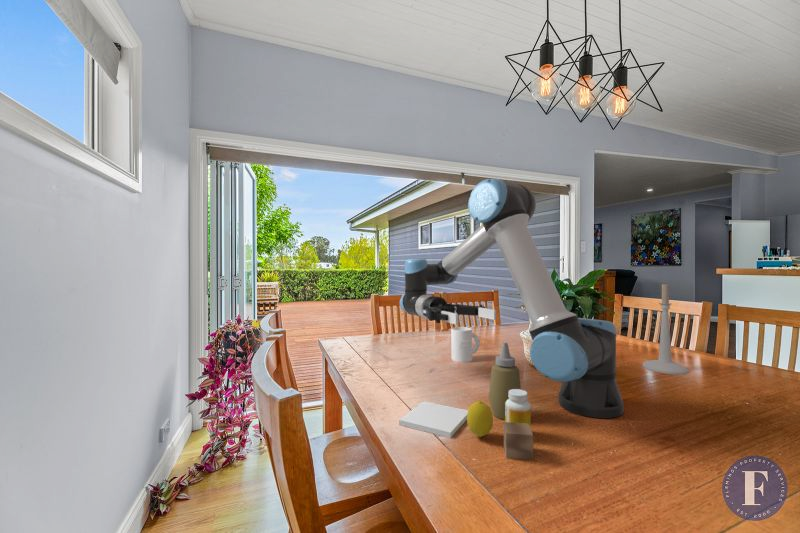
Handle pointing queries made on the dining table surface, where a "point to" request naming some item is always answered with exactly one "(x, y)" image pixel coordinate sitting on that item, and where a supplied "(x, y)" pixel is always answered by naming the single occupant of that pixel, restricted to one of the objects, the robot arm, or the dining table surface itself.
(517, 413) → the supplement bottle
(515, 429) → the grey cube
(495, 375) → the squeeze bottle
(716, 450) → the dining table surface
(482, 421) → the lemon
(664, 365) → the candlestick
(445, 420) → the grey board
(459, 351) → the mug
